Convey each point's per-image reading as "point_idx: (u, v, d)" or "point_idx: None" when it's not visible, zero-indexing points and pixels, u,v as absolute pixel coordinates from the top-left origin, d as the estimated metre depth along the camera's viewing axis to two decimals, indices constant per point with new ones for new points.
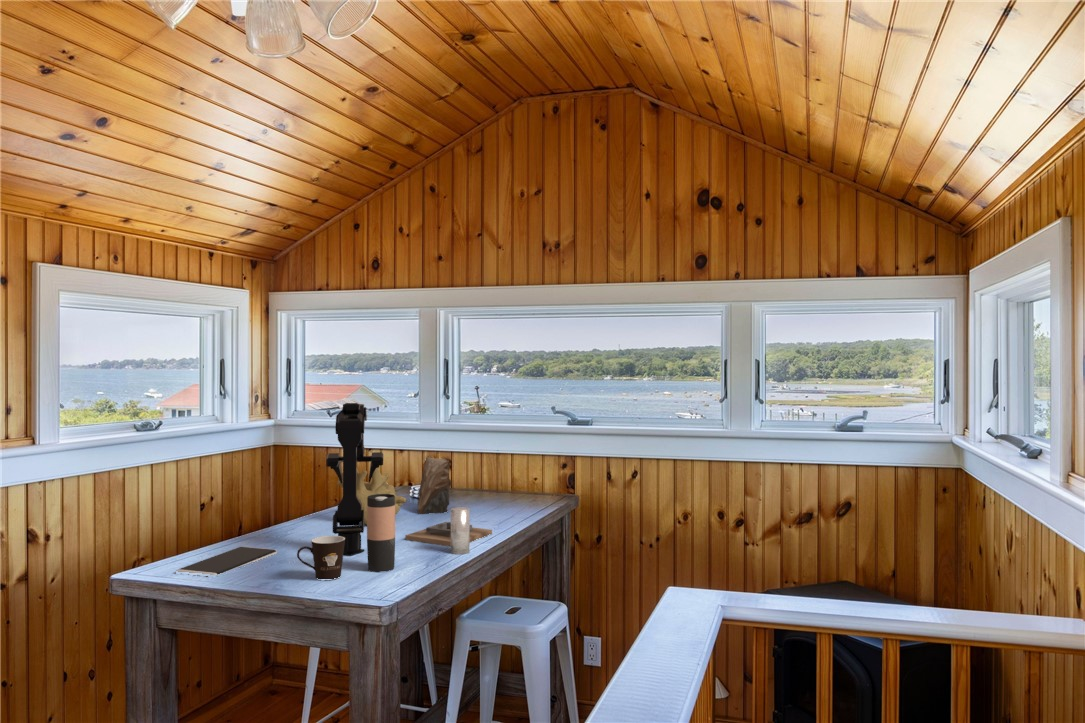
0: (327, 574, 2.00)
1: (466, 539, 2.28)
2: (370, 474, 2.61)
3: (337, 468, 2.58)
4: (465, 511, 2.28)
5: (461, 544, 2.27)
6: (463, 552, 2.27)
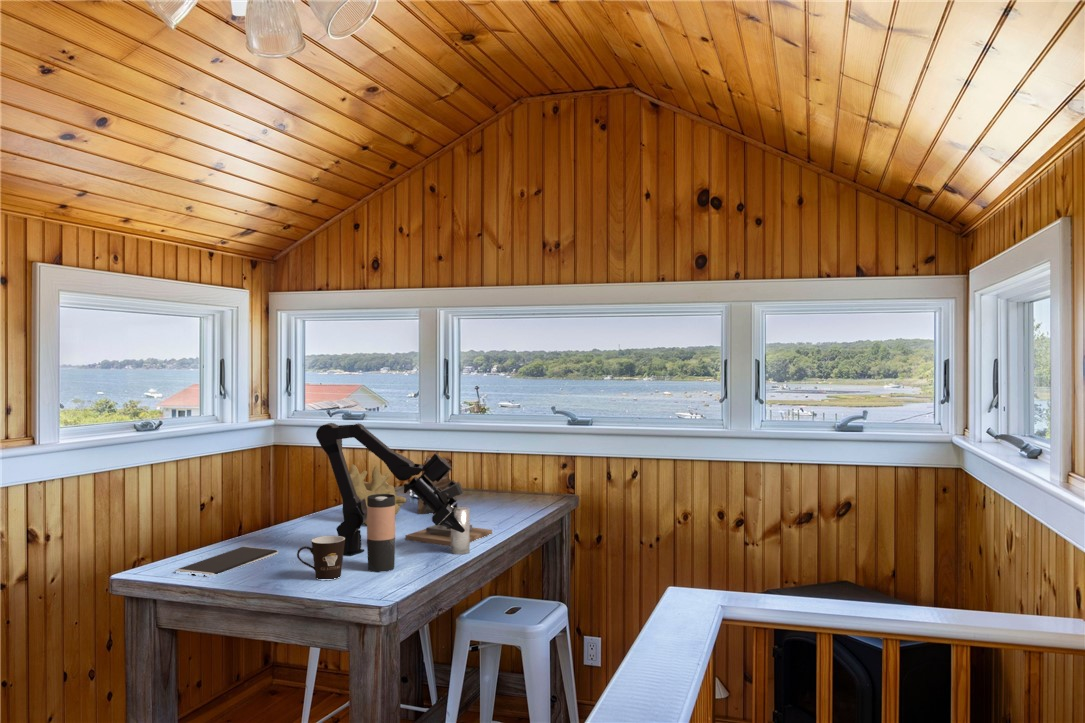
0: (327, 574, 2.00)
1: (466, 539, 2.28)
2: None
3: None
4: (465, 511, 2.28)
5: (461, 544, 2.27)
6: (463, 552, 2.27)
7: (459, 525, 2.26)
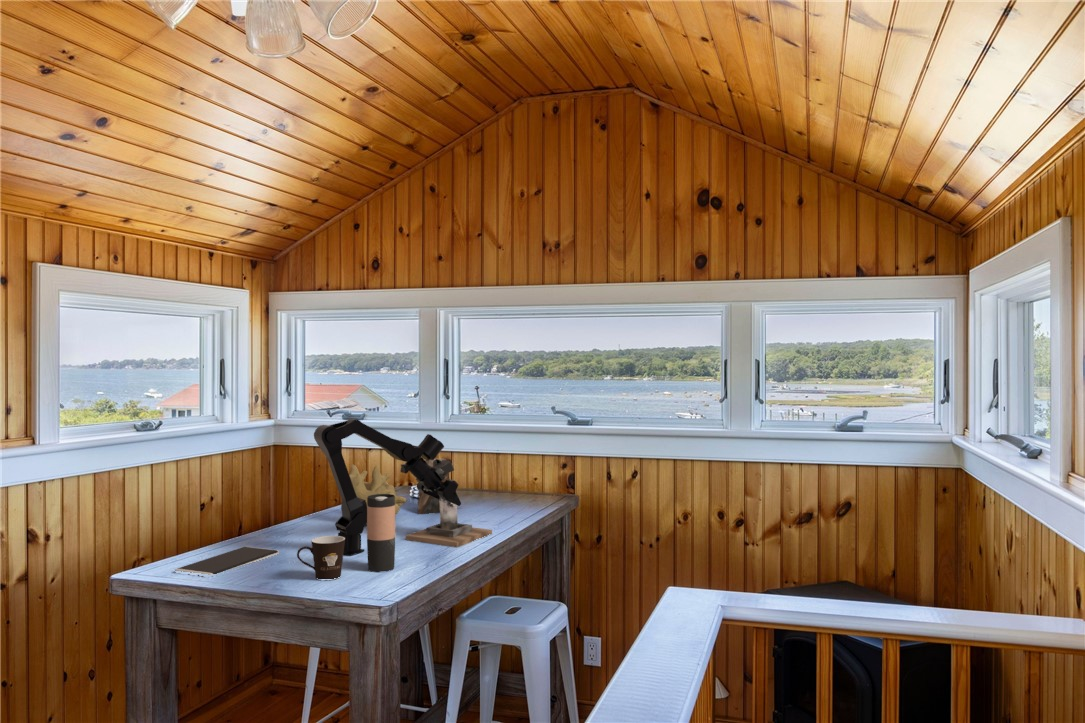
0: (327, 574, 2.00)
1: None
2: None
3: None
4: None
5: (454, 524, 2.47)
6: None
7: (458, 499, 2.45)
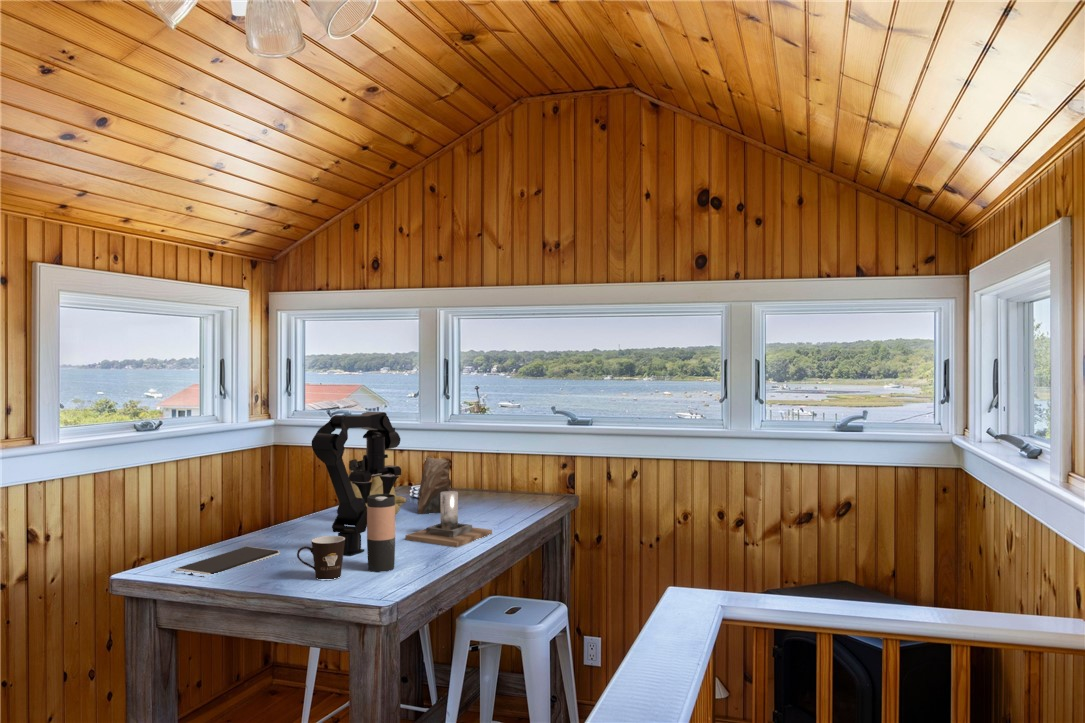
0: (327, 574, 2.00)
1: (457, 519, 2.49)
2: (390, 487, 2.46)
3: (370, 483, 2.36)
4: (457, 494, 2.48)
5: (454, 525, 2.47)
6: None
7: None
